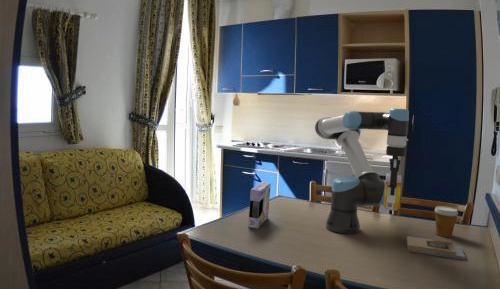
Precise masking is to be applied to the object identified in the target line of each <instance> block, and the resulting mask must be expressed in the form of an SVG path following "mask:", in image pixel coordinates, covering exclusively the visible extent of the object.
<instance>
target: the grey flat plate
mask: <svg viewBox="0 0 500 289" xmlns="http://www.w3.org/2000/svg"><path fill="white" fill-rule="evenodd" d="M427 245H428V246H429V247H435V248H442V249H448V248H447V246H441V245H435V244H428V243H427ZM453 246H454V249H455V251H456V255H450V254H443V253H437V252H431V251H424V250H422V253H421V254H425V255H431V256H438V257H443V258H451V259H456V260H457V259H458V260H463V261H466V255H465V253H464V250H463V249H462V247H461V246H456V245H453Z"/></svg>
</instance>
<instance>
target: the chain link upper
mask: <svg viewBox="0 0 500 289" xmlns="http://www.w3.org/2000/svg"><path fill="white" fill-rule="evenodd" d="M427 243H428V244H435V245H441V246H447V248H448V249H442V248H435V247H429V246H428V245H427ZM454 246H455V245H453V242H450V241H449V242H448V241H442V240H438V239H437V240H436V239H430V238H422V237H415V236H411V235H410V236H406V249H407V252H412V253H418V254H423V253H422V250H424V251H431V252H437V253H443V254H450V255H456V251H455V249H454Z"/></svg>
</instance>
